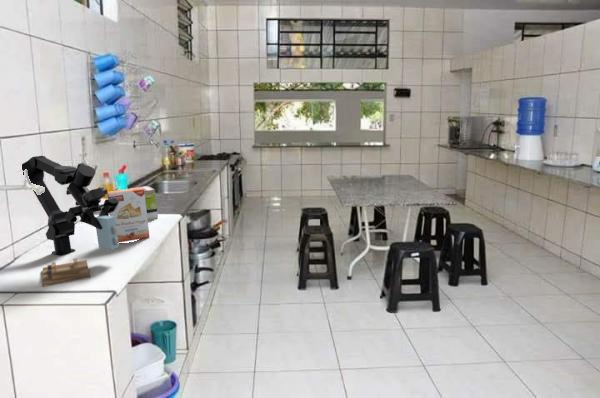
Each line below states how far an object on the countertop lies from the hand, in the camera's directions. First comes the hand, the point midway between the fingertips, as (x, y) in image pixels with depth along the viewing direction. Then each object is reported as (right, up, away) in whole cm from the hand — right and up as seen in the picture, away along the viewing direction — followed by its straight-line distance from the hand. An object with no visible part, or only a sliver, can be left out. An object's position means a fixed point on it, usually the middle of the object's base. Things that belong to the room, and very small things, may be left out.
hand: (105, 227), depth 169 cm
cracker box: (-2, -7, +31) cm, 32 cm away
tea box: (-9, +1, +70) cm, 70 cm away
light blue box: (+1, -7, +1) cm, 7 cm away
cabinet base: (-10, -15, -8) cm, 20 cm away
